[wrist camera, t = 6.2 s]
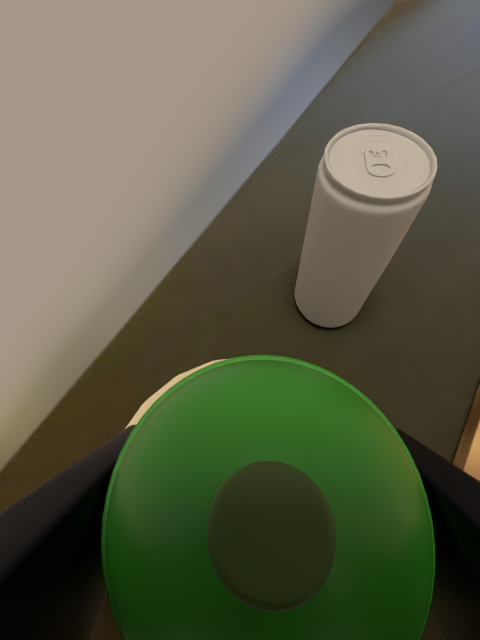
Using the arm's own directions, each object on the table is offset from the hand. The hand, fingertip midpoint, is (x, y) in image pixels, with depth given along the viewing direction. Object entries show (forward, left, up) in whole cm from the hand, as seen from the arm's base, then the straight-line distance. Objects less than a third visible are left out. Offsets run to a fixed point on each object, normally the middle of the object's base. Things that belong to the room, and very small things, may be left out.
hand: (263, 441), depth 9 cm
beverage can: (+11, -6, -13) cm, 18 cm away
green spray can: (-1, 0, -6) cm, 7 cm away
